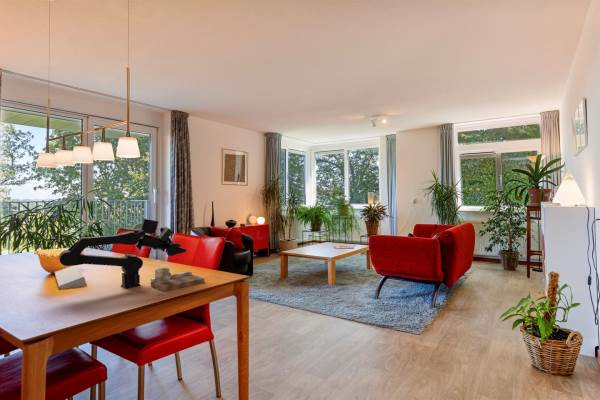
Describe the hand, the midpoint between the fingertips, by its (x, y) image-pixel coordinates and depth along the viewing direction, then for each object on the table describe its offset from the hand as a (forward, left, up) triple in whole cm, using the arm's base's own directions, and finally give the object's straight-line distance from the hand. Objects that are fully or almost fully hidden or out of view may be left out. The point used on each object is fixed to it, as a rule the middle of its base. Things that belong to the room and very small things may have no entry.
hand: (183, 248), depth 170 cm
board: (-8, -10, -15) cm, 20 cm away
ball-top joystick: (-15, -10, -13) cm, 22 cm away
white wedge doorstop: (-39, +39, -16) cm, 58 cm away
